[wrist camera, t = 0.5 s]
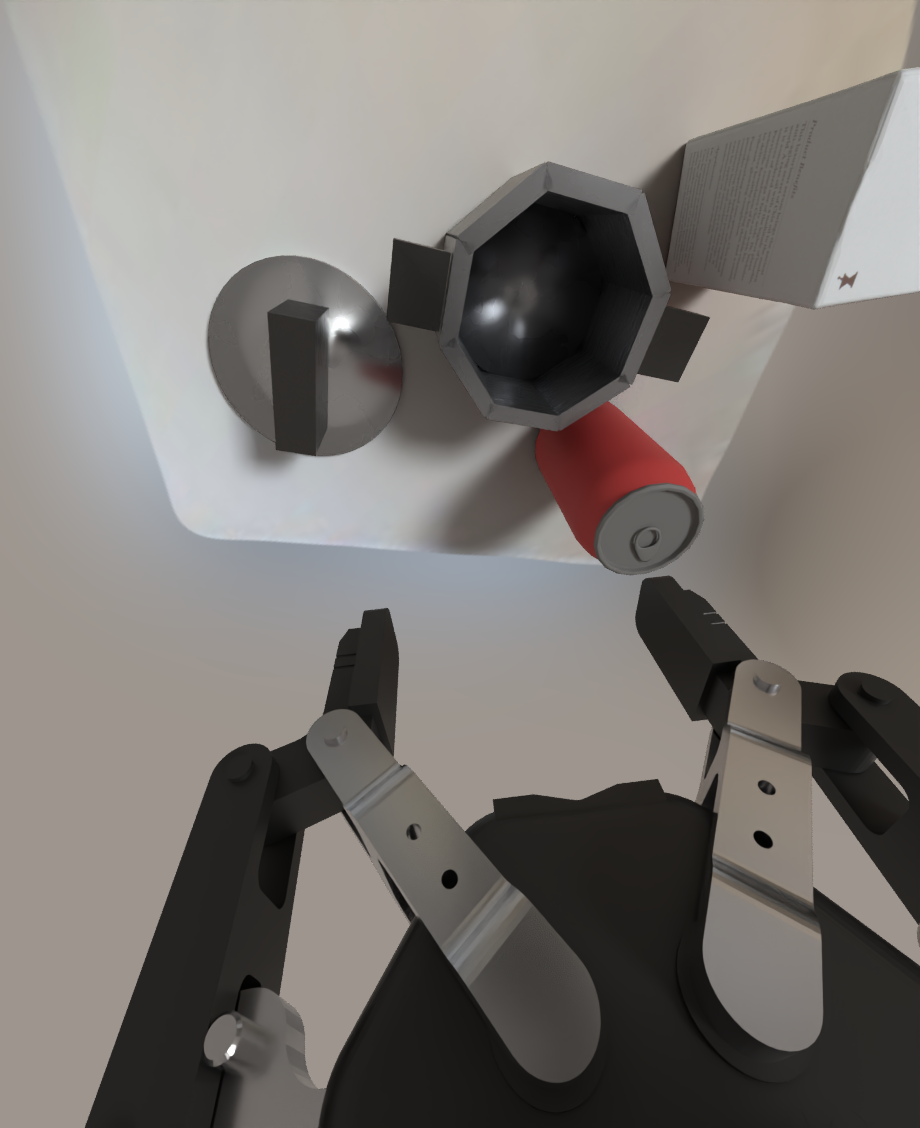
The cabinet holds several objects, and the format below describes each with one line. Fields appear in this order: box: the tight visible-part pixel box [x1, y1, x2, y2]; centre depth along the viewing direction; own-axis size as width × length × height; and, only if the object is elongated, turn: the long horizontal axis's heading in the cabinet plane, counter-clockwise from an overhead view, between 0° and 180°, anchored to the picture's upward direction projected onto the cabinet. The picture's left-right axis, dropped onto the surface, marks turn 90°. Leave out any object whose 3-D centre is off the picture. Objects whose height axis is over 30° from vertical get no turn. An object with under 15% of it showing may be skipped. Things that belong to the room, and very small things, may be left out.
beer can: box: [535, 401, 704, 575], centre depth 26 cm, size 7×7×12 cm
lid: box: [209, 255, 402, 456], centre depth 25 cm, size 11×11×5 cm
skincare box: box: [666, 67, 920, 309], centre depth 19 cm, size 6×4×12 cm
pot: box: [386, 162, 710, 431], centre depth 22 cm, size 10×15×7 cm, turn 78°
